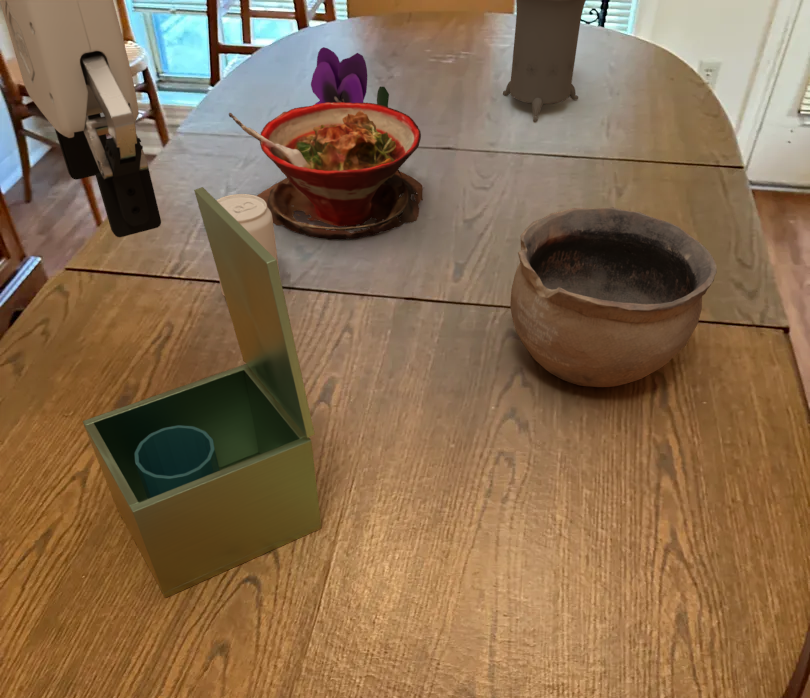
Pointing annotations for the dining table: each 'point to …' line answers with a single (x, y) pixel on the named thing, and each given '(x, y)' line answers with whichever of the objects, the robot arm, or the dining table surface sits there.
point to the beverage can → (252, 219)
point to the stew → (341, 168)
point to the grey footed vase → (544, 51)
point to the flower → (342, 79)
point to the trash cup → (174, 458)
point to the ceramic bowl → (607, 293)
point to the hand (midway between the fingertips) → (114, 201)
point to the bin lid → (257, 308)
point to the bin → (212, 478)
